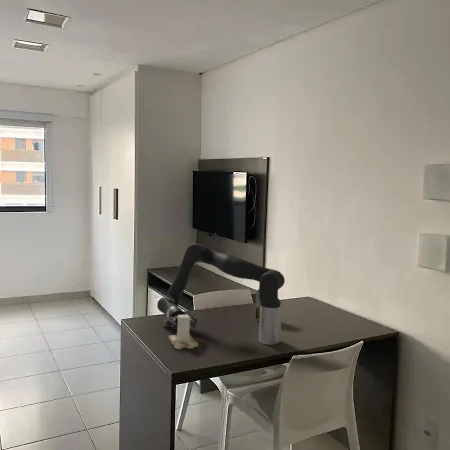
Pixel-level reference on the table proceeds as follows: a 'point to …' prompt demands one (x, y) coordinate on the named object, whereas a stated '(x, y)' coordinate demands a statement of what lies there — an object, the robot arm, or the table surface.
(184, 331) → the block
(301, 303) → the table surface
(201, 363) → the table surface
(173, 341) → the pin dock
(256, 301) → the coffee box
